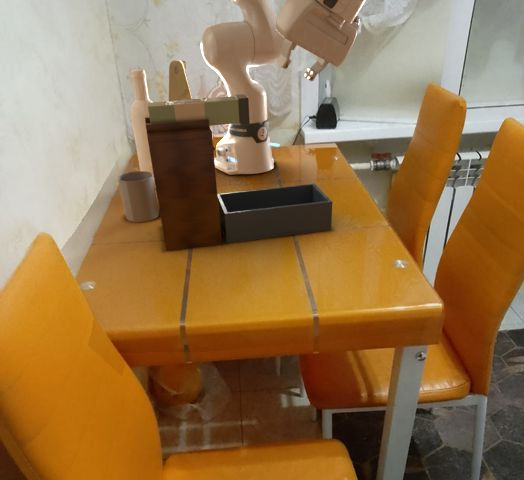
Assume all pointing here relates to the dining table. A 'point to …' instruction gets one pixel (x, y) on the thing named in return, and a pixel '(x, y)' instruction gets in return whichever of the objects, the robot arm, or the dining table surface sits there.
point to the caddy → (178, 81)
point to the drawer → (202, 110)
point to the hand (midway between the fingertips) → (295, 73)
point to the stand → (185, 182)
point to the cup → (139, 196)
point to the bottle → (141, 119)
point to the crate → (274, 212)
